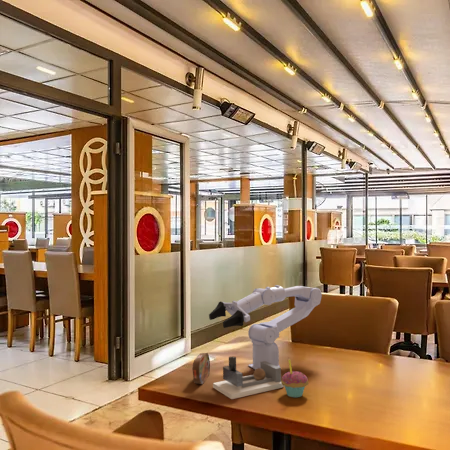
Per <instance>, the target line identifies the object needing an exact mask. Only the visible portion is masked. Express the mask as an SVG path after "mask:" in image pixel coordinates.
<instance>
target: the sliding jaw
mask: <svg viewBox="0 0 450 450" xmlns="http://www.w3.org/2000/svg"><path fill="white" fill-rule="evenodd" d="M222 373H223V374H222V378H223V379H222V380H223V381H225V380H226V381H228V382H230V383H231V384H233V385H235V386H236V387H239V386H243V377H244V375H243V372H241V371H239V370H237V357H236V356H232V355H231V356H229V357H228V365H225V366H223V367H222Z"/></svg>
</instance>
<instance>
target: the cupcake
mask: <svg viewBox="0 0 450 450" xmlns="http://www.w3.org/2000/svg"><path fill="white" fill-rule="evenodd" d="M287 361H288V366H289V371H288V372H285V373H284V374H283V375H281V383H282V385H284V387H283V388H284V389H285V392H286V395H287V396H288V397H289V398H290V397H291V398H300V397H302V396H303V393H304V390H305V388H306V387H307V386H309V379H308V377H307V376H306V375H305V374H304V373H303V372H301V371H297V370H295V371H294V370H293V369H292V362H291V359H290V358H288V360H287Z"/></svg>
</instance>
